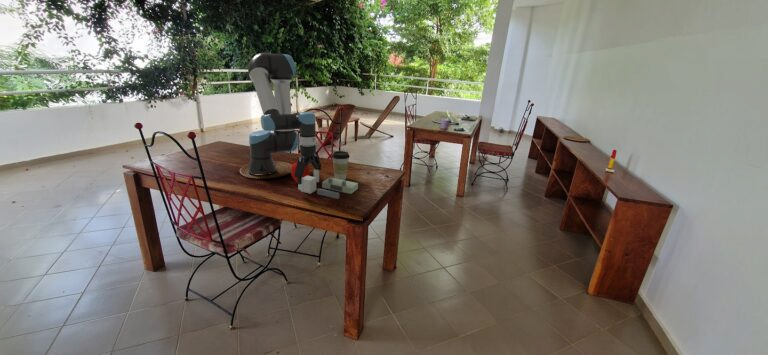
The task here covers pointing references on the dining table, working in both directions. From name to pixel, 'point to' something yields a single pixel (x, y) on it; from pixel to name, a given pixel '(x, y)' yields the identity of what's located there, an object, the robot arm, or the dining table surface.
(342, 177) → the coffee cup
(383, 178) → the dining table surface
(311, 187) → the gray rectangular prism
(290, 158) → the dining table surface
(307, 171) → the apple
